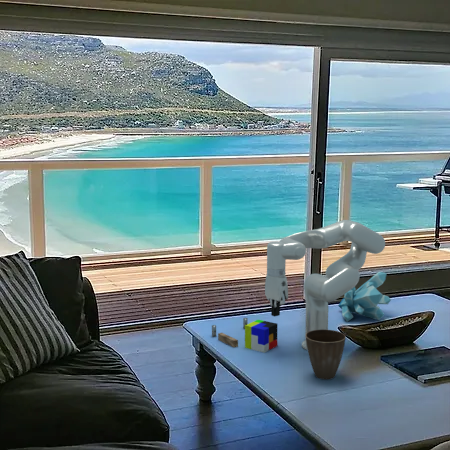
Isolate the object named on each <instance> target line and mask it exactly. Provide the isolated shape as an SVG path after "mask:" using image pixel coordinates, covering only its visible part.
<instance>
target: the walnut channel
mask: <svg viewBox="0 0 450 450" xmlns="http://www.w3.org/2000/svg"><path fill="white" fill-rule="evenodd" d="M217 335H218V336H217V340H218V341H220V342H221V343H222V344H225V345H228V346H230V347H232V348H238V347H239V339H238V338H235V337H232V336H231V335H228V334H227V333H224V332H217Z"/></svg>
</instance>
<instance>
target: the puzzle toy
mask: <svg viewBox="0 0 450 450" xmlns="http://www.w3.org/2000/svg"><path fill="white" fill-rule="evenodd" d="M276 347H278V323H275V322H272V321H267V320H262V319H256V320H253V321H252V322H249V323H248V324H247V325H245V329H244V348H245V349H248V350H252V351H255V352H256V351H257V352H260V353H267V352H269V351H271V350H272V349H275V348H276Z"/></svg>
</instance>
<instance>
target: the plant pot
mask: <svg viewBox="0 0 450 450" xmlns="http://www.w3.org/2000/svg"><path fill="white" fill-rule="evenodd" d="M306 343H307V349H308V350H307V354H308V359H309V362H310V365H311V368H312V370H313V373H314V376H315V377H316V378H317V379H320V380H327V381H328V380H332V379H334V378H335V377H336V376H337V372H338V370H339V367H340V364H341V361H342V357H343V353H344V350H345V343H346V334H344V333H343V332H341V331H337V330H334V329H328V330H324V329H322V330H313V331H310V332H308V333H306Z"/></svg>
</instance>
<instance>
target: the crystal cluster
mask: <svg viewBox="0 0 450 450" xmlns="http://www.w3.org/2000/svg"><path fill="white" fill-rule="evenodd" d="M386 279H387V272H384V271H378V272H376V273H375V274H374V275H373V276H372V277H371V278H370V279H368V280H367V281H365V282H364V283H363V284H362V285H361V286H359V288H356V286H355V287H354V288H352V289H351V290H350V291H348V292H347V293H345V294H344V295H343V296H344V297H343V298H342V299H341V301H340V302H339V304H338V305H337V306H338V307H339V308H340V309H341V313H342V317H343V318H344V319H345V321H346V322H349V321H350V320H351V319H353V318H354V315H353V314H354V313H355V314H358V315H360V316H363V317H367V318H370V319H374V320H376V319H377V320H376V321H380V320H381V318H383V317H384V316H385V313H384V312H383V310H382V309H381V308H380V307H379V305H389V304H390V303H391V300H392V299H391V298H390V297H389V296H388V295H385V294H383V293H382V292H380V290H378V288H379V287H380V286H382V285H383V284H384V282H386Z"/></svg>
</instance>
